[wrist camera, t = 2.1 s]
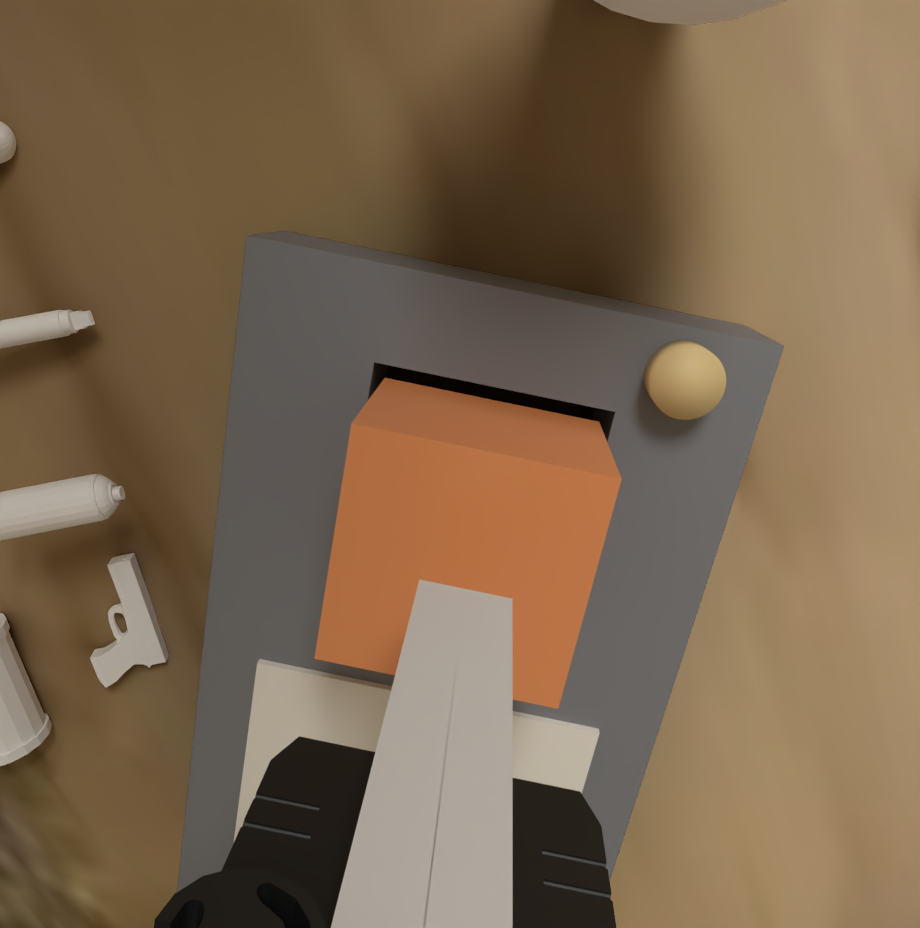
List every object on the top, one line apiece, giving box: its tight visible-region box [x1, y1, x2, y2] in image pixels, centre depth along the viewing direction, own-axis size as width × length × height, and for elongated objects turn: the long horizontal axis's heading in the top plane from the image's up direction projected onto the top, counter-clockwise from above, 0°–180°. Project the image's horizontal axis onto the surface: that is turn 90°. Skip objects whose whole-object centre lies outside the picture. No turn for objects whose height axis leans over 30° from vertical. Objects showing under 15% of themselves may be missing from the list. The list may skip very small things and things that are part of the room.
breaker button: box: [314, 378, 622, 709], centre depth 17 cm, size 5×5×4 cm
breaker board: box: [177, 231, 784, 892], centre depth 22 cm, size 20×12×4 cm, turn 169°
